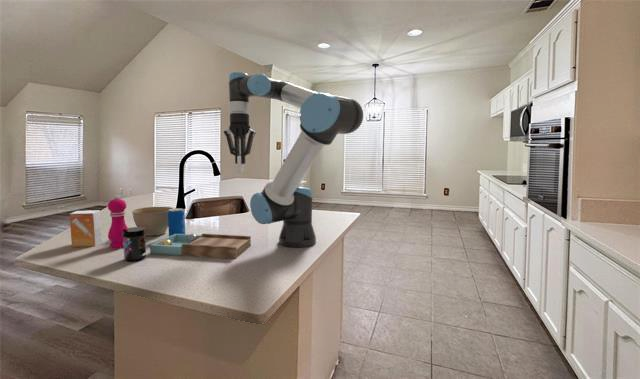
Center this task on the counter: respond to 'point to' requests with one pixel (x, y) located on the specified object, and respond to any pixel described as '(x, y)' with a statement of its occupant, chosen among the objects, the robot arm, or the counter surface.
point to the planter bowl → (152, 219)
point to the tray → (168, 249)
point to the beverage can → (176, 221)
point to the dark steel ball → (191, 238)
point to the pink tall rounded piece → (117, 222)
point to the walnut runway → (217, 246)
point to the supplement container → (134, 244)
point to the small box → (85, 228)
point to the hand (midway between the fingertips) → (240, 171)
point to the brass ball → (166, 242)
